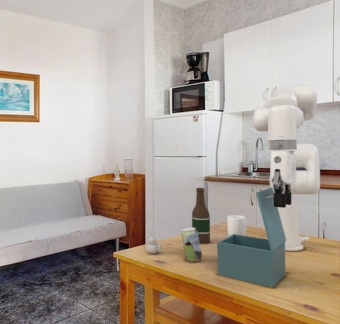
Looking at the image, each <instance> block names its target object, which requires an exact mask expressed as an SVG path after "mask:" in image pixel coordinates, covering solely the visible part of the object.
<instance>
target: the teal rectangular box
mask: <svg viewBox="0 0 340 324" xmlns="http://www.w3.org/2000/svg"><path fill="white" fill-rule="evenodd" d="M216 251H217V252H216V254H217V257H216V258H217V275H218V276H223V277H226V278H230V279H235V280H239V281H242V282H247V283H250V284H251V283H252V284H254V285H255V284H256V285H259V286H264V287H268V288H272V289H273V288H274V287H275V286H276V285H277V284H278V283H279V282H280V281H281V280H282V279H283V278H284V277H285V276H286V250H285V242H284V243H282V244H281V245H280V246H278V247H277V248H276V249H274V250H271V249H270V245H269V241H268V238H262V237H256V236H250V235H249V236H248V235H246V236H243V235H236V234H232V235H230V236H229V237H228V236H226V237H225V238H222V239H221V240H219V241H217V242H216Z"/></svg>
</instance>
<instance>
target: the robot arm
mask: <svg viewBox="0 0 340 324" xmlns="http://www.w3.org/2000/svg"><path fill="white" fill-rule="evenodd" d="M317 104H318V94H317V90H316V88H315V87H314V85H311V84H309V83H308V84H298V85H297V84H296V85H288V86H282V87H279V88H277V89H275V90H274V91H273V93H272V94H271V98H270V99H267V100H264V101H263V102H260V103H259V104H257V105H256V107H255V109H254V112H253V117H252V124H253V127H254V129H255V130H256V131H257V132H267V134H268V135H267V143H268V145H267V146H268V147H267V149H268V150H267V151H268V152H270V163H269V164H270V169H269V170H270V171H269V174H270V175H269V178H268V179H269V188H273V193H274V207H278V211H279V215H280V218H281V222H282V226H283V230H284V233H285V237H286V241H285V252H286V251H288V252H298V251H299V252H300V251H302V250H304V248H305V247H304V245H303V244H302V243H306V242H310V237H309V236H301V235H300V206H299V203H298V201H297V200H296V199H295V198H294V197H293V195H316V194H318V193H319V192H320V188H321V169H320V168H321V167H320V166H321V165H320V163H321V161H320V151H319V148H318V147H317V145H315V144H313V143H298V133H297V131H298V129H300V128H301V126H302V125H303V124H304V121H311V120H313V119H314V117H315V116H316V112H317ZM297 168H302V169H303V168H304V169H305V170H297Z"/></svg>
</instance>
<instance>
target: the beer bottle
mask: <svg viewBox="0 0 340 324" xmlns="http://www.w3.org/2000/svg"><path fill="white" fill-rule="evenodd" d="M195 191H196V194H195V195H196V196H195V198H196V199H195V205H194V208H193V209H192V211H191V228H195V229H196V230H197V232H198V236H199V242H200V245H201V244H202V245H206V244H210V242H211V223H210V222H211V215H210V211H209V209H208V208H207V207H206V201H205V191H206V190H205V188H204V187H196V189H195Z"/></svg>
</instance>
